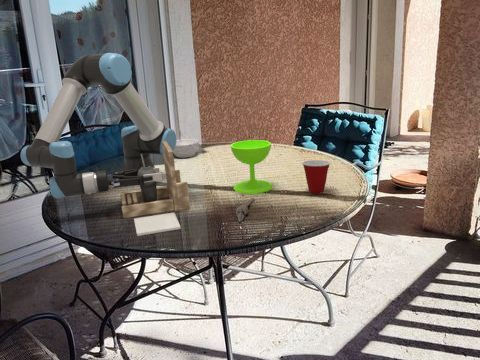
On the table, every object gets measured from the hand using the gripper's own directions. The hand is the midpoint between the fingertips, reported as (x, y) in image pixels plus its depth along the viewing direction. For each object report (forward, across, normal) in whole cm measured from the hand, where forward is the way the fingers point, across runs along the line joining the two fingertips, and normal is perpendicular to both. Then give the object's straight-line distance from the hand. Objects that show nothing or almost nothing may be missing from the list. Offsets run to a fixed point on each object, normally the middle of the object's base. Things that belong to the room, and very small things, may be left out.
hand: (160, 173), depth 170 cm
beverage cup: (-5, 0, -12) cm, 13 cm away
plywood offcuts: (-12, 0, -12) cm, 17 cm away
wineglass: (+37, -4, -12) cm, 39 cm away
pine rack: (-4, 0, -12) cm, 13 cm away
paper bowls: (+21, -74, -12) cm, 77 cm away
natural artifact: (+27, +20, -13) cm, 36 cm away
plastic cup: (+57, +12, -12) cm, 60 cm away
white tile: (-5, +20, -12) cm, 24 cm away
